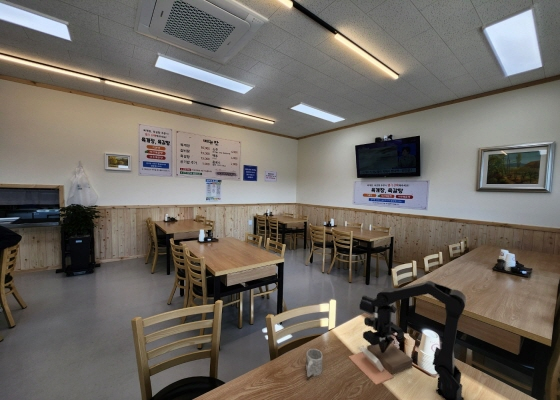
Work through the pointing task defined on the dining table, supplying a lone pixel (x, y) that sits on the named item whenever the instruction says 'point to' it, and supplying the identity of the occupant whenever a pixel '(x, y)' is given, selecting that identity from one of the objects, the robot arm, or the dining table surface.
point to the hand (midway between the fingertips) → (382, 352)
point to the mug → (314, 362)
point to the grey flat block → (372, 358)
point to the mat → (370, 369)
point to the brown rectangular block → (391, 358)
